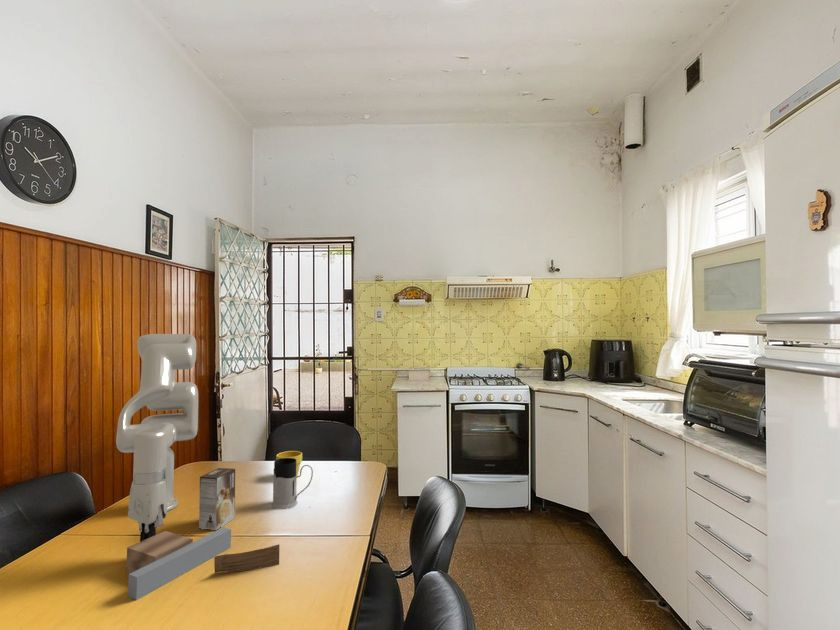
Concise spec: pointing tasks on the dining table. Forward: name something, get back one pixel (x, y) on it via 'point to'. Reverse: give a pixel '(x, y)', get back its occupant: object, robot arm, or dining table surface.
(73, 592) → the dining table surface
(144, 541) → the walnut block
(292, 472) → the glass holder
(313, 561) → the dining table surface
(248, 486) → the dining table surface
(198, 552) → the grey board
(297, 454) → the plant pot
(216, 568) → the wood plank
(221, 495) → the coffee box
